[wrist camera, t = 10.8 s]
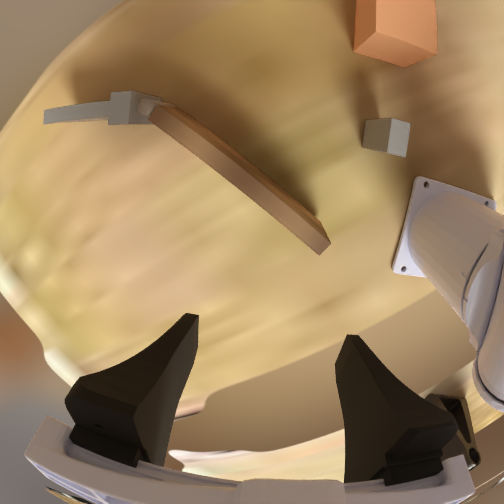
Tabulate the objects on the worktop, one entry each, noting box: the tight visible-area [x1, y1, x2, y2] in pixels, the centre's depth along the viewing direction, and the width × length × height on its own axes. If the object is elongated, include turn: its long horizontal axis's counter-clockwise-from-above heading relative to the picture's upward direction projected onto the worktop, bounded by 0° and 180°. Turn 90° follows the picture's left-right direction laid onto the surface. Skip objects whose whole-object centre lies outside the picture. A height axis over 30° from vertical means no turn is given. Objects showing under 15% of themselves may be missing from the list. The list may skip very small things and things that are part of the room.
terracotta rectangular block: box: [353, 0, 437, 68], centre depth 12 cm, size 4×6×5 cm, turn 174°
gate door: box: [137, 98, 331, 255], centre depth 17 cm, size 14×1×4 cm, turn 51°
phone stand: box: [425, 394, 481, 471], centre depth 24 cm, size 9×6×12 cm, turn 69°
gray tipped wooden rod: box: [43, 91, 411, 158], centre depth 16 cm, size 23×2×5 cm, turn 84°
